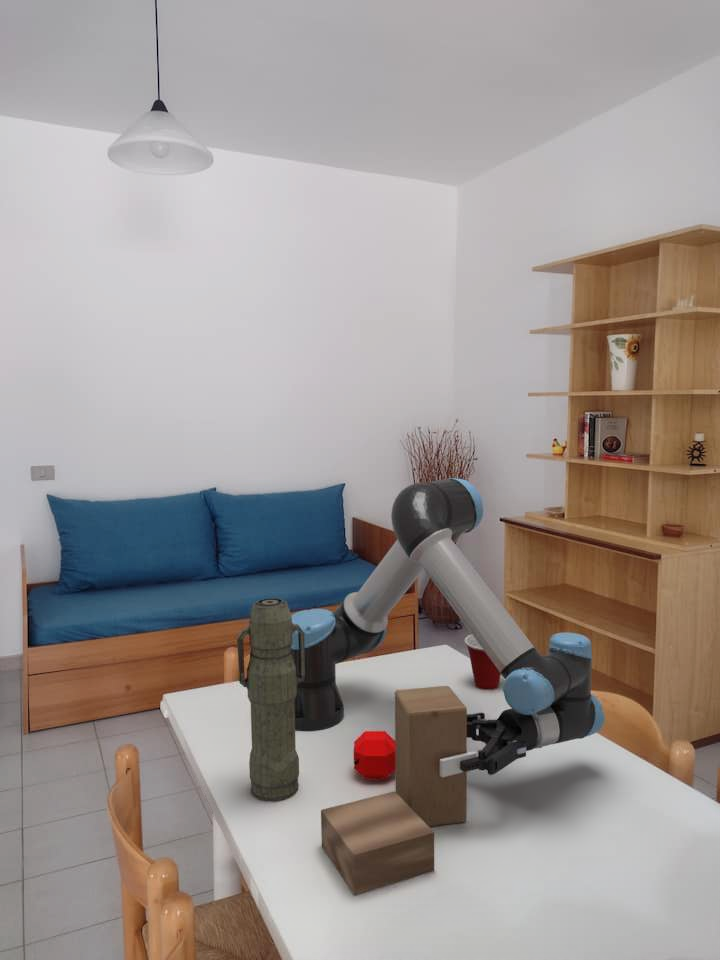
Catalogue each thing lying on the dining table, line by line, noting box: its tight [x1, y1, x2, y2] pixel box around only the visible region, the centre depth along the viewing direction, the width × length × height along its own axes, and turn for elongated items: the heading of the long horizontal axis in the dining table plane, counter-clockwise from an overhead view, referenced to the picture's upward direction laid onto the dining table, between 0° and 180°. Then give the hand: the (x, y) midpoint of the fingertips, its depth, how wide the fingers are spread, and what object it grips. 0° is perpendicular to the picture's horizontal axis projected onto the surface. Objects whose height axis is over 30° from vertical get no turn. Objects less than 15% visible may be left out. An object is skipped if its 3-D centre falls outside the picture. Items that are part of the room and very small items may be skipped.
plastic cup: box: [464, 634, 502, 691], centre depth 180 cm, size 11×11×12 cm
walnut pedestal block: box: [320, 790, 435, 896], centre depth 111 cm, size 13×13×6 cm
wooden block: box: [394, 685, 468, 827], centre depth 123 cm, size 10×10×20 cm
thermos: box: [236, 597, 305, 803], centre depth 130 cm, size 9×12×35 cm
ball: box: [353, 730, 395, 780], centre depth 136 cm, size 8×8×8 cm
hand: (421, 751), depth 122 cm, fingers open, 12 cm apart
